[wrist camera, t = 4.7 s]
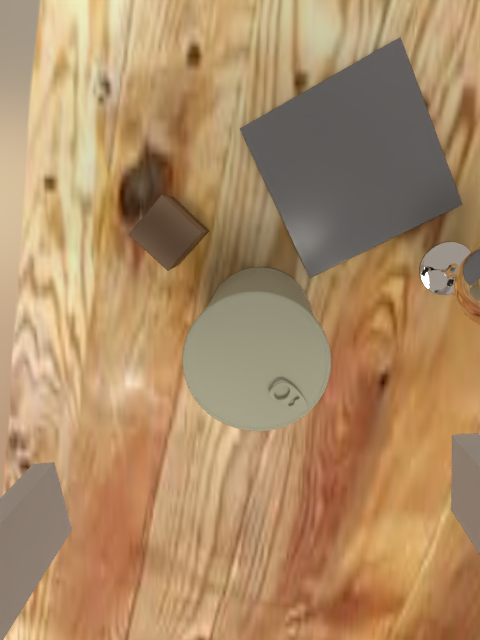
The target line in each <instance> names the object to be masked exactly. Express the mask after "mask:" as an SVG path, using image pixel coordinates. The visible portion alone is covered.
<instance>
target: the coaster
mask: <svg viewBox="0 0 480 640" xmlns="http://www.w3.org/2000/svg"><path fill="white" fill-rule="evenodd" d="M240 130H241V132H242V135H243V137H244V139H245V141H246V143H247V145H248V147H249V150H250V152H251V154H252V156H253V158H254V160H255V162H256V164H257V167H258V169H259V171H260V173H261V175H262V177H263V179H264V181H265V184H266V186H267V188H268V190H269V192H270V194H271V196H272V198H273V201H274V203H275V205H276V207H277V209H278V211H279V213H280V216H281V218H282V220H283V222H284V224H285V226H286V228H287V230H288V233H289V235H290V237H291V239H292V241H293V243H294V245H295V247H296V250H297V252H298V254H299V256H300V258H301V260H302V262H303V265H304V267H305V269H306V271H307V273H308V275H309V277H310V278H311V277H313V276H315V275H317V274H319V273H321V272H323V271H325V270H327V269H329V268H331V267H334V266H336V265H338V264H340V263H342V262H344V261H346V260H348V259H350V258H352V257H354V256H356V255H358V254H361V253H363V252H365V251H367V250H369V249H371V248H373V247H375V246H377V245H379V244H381V243H383V242H385V241H388V240H390V239H392V238H394V237H396V236H398V235H400V234H402V233H404V232H406V231H408V230H410V229H412V228H415V227H417V226H419V225H421V224H423V223H425V222H427V221H429V220H431V219H433V218H435V217H437V216H439V215H442V214H444V213H446V212H448V211H450V210H452V209H454V208H456V207H458V206H460V205H462V202H461V199H460V196H459V194H458V191H457V188H456V186H455V183H454V180H453V178H452V175H451V172H450V170H449V167H448V164H447V161H446V159H445V156H444V153H443V151H442V148H441V145H440V143H439V140H438V137H437V135H436V132H435V129H434V126H433V124H432V121H431V118H430V116H429V113H428V110H427V108H426V105H425V102H424V99H423V97H422V94H421V91H420V89H419V86H418V83H417V81H416V78H415V75H414V73H413V70H412V67H411V64H410V62H409V59H408V56H407V54H406V51H405V48H404V46H403V43H402V40H401V38H398V39H397V40H395V41H393V42H391V43H390V44H388V45H386V46H384V47H383V48H381V49H379V50H377V51H376V52H374V53H372V54H370V55H369V56H367V57H365V58H363V59H362V60H360V61H358V62H356V63H355V64H353V65H351V66H349V67H348V68H346V69H344V70H342V71H340V72H339V73H337V74H335V75H333V76H332V77H330V78H328V79H326V80H325V81H323V82H321V83H319V84H318V85H316V86H314V87H312V88H311V89H309V90H307V91H305V92H304V93H302V94H300V95H298V96H297V97H295V98H293V99H291V100H290V101H288V102H286V103H284V104H283V105H281V106H279V107H277V108H276V109H274V110H272V111H270V112H269V113H267V114H265V115H263V116H262V117H260V118H258V119H256V120H255V121H253V122H251V123H249V124H248V125H246V126H244V127H242V128H241V129H240Z"/></svg>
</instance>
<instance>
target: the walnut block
mask: <svg viewBox="0 0 480 640" xmlns="http://www.w3.org/2000/svg"><path fill="white" fill-rule="evenodd" d="M208 232H209V230H208V229H207V228H206V227H205V226H203V225H202V224H201V223H200V222H199V221H198V220H197V219H196V218H195V217H194V216H193V215H192V214H191V213H190V212H189V211H188V210H187V209H186V208H185V207H184V206H182V205H181V204H180V203H179V202H178V201H177V200H176V199H175V198H174V197H170V196H166V195H161V196H160V197H159V199H158V200H157V201H156V202H155V203H154V205H153V206H152V207H151V208H150V209H149V211H148V212H147V213H146V214H145V215H144V217H143V218H142V219H141V220H140V221H139V223H138V224H137V225H136V226H135V227H134V229H133V230H132V231H131V232H130V233H129V236H131V237H132V238H133V239H134V240H135V241H136V242H137V243H138V244H139V245H140V246H141V247H142V248H144V249H145V250H146V251H147V252H148V253H149V254H150V255H151V256H152V257H153V258H154V259H156V260H157V261H158V262H159V263H160V264H161V265H162V266H163V267H164V268H165V269H166V270H167V271H168V270H170V269H172V268H174V267H176V266H178V265H179V264H180V263H181V262H182V261H183V260H184V259H185V257H186V256H187V255H188V254H189V253H190V252H191V251H192V250H193V248H194V247H195V246H196V245H197V244H198V243H199V242H200V241H201V239H202V238H203V237H204V236H205V235H206V234H207V233H208Z"/></svg>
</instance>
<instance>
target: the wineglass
mask: <svg viewBox="0 0 480 640" xmlns="http://www.w3.org/2000/svg"><path fill="white" fill-rule="evenodd" d="M420 278H421V281H422V283H423V285H424V286H425V287H426V288H427V289H428V290H429V291H431V292H433V293H435V294H439V295H450V294H453V293H454V296H455V299H456V302H457V304H458V306H459V307H460V309H461V310H462V311H463V312H464V313H465V315H467V316H468V317H469V318H470V319H471V320H472V321H474V322H476V323H477V324H479V325H480V247H478V248H476V249H475V250H473V251H472V252H471V251H470V250H469V249H468V248H467V247H466V246H464V245H462V244H460V243H457V242H444V243H441V244H438V245H436V246H434V247H433V248H431V249H430V250H429V251H428V252H427V253H426V254H425V256H424V257H423V259H422V262H421V264H420Z"/></svg>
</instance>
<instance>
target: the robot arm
mask: <svg viewBox="0 0 480 640" xmlns="http://www.w3.org/2000/svg"><path fill="white" fill-rule="evenodd" d="M451 510H452V512H453V513H454V515H455V517H456V518H457V520H458V521H459V523H460V524H461V526H462V528H463V529H464V531H465V532H466V534H467V536H468V537H469V539H470V540H471V542H472V543H473V545H474V547H475V548H476V550H477V551H478V553H479V554H480V435H479V434H478V433H474V434H459V435H452V483H451ZM71 530H72V527H71V524H70V520H69V516H68V512H67V509H66V505H65V501H64V497H63V493H62V490H61V486H60V482H59V478H58V475H57V471H56V467H55V463H54V462H53V463H39V464H33V465H32V466H31V467H30V468H29V469H28V470H27V471H26V472H25V473H24V474H23V475H22V476H21V477H20V478H19V479H18V480H17V481H16V483H15V484H14V485H13V486H12V487H11V488H10V489H9V490H8V491H7V492H6V493H5V494H4V495H3V496H2V497H1V498H0V640H3V639H4V637H5V636H6V634H7V633H8V631H9V629H10V628H11V626H12V625H13V623H14V621H15V620H16V618H17V617H18V615H19V613H20V612H21V610H22V609H23V607H24V605H25V604H26V602H27V601H28V599H29V597H30V596H31V594H32V593H33V591H34V589H35V588H36V586H37V585H38V583H39V581H40V580H41V578H42V577H43V575H44V573H45V572H46V570H47V569H48V567H49V566H50V564H51V562H52V561H53V559H54V558H55V556H56V554H57V553H58V551H59V550H60V548H61V546H62V545H63V543H64V542H65V540H66V538H67V537H68V535H69V534H70V532H71Z"/></svg>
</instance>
